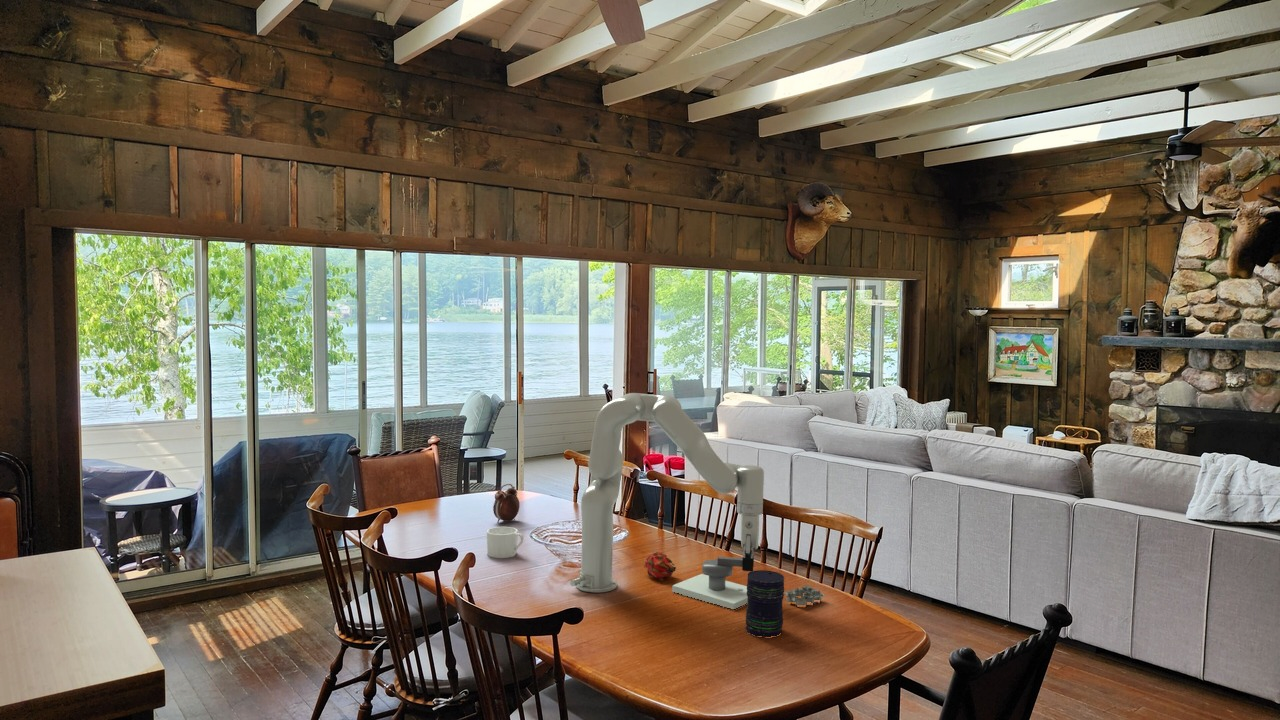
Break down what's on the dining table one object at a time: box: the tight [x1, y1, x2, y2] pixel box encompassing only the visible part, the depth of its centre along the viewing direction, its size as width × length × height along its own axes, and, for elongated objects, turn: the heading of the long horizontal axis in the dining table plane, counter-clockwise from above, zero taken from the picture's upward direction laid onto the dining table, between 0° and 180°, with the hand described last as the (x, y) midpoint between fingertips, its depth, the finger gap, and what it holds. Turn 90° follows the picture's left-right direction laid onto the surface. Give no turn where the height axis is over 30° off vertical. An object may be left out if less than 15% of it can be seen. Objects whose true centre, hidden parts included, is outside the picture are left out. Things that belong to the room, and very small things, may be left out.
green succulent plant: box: [784, 584, 825, 606], centre depth 238 cm, size 11×8×4 cm
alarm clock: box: [492, 483, 520, 524], centre depth 318 cm, size 11×5×15 cm, turn 144°
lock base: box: [671, 573, 748, 610], centre depth 242 cm, size 15×22×6 cm
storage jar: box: [745, 569, 785, 637], centre depth 215 cm, size 10×10×15 cm
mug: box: [486, 526, 525, 559], centre depth 276 cm, size 13×10×8 cm
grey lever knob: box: [701, 551, 755, 577], centre depth 241 cm, size 15×9×6 cm, turn 80°
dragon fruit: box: [643, 551, 677, 581], centre depth 256 cm, size 8×8×12 cm
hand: (747, 568), depth 240 cm, fingers closed on grey lever knob, 3 cm apart
